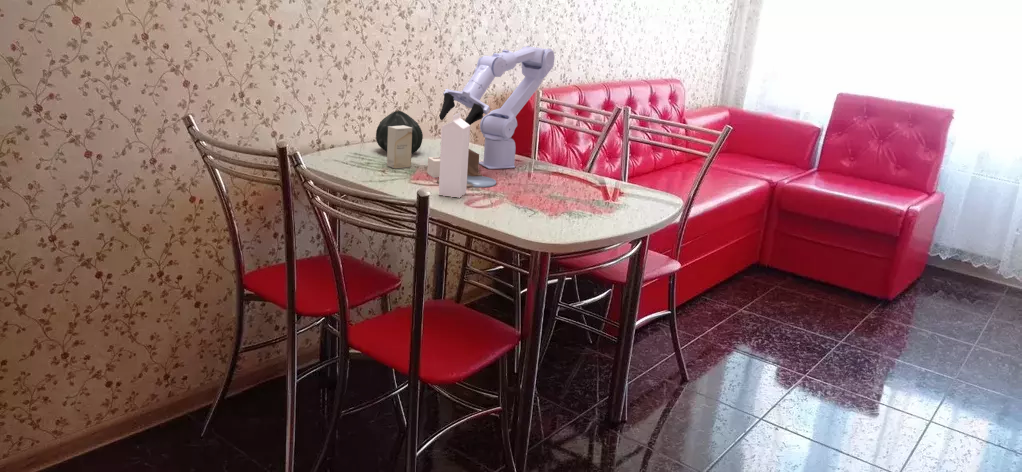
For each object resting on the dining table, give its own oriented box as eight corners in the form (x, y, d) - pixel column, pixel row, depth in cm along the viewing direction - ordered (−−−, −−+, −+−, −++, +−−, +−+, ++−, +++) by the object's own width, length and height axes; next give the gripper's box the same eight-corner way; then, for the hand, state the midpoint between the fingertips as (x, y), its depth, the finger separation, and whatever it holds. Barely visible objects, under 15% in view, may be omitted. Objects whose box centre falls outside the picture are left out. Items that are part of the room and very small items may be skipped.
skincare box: (394, 169, 223) (395, 129, 219) (386, 165, 225) (387, 126, 222) (411, 166, 227) (413, 127, 223) (403, 163, 230) (404, 124, 226)
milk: (438, 195, 199) (441, 114, 192) (445, 190, 205) (448, 110, 198) (460, 198, 198) (463, 116, 191) (466, 193, 204) (470, 113, 196)
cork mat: (460, 179, 216) (460, 177, 216) (475, 186, 211) (475, 184, 210) (436, 182, 212) (436, 180, 212) (452, 189, 206) (452, 187, 206)
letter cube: (442, 172, 223) (443, 156, 221) (449, 177, 219) (450, 160, 217) (427, 173, 221) (428, 156, 219) (433, 178, 217) (434, 160, 215)
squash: (411, 129, 253) (387, 98, 242) (437, 140, 243) (414, 108, 232) (383, 159, 249) (358, 129, 239) (409, 171, 239) (384, 140, 229)
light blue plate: (486, 176, 222) (486, 174, 222) (502, 186, 213) (502, 184, 213) (452, 178, 217) (452, 176, 217) (467, 188, 208) (467, 186, 208)
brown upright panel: (464, 167, 231) (465, 145, 229) (482, 177, 221) (483, 154, 218) (453, 167, 230) (455, 145, 228) (471, 178, 219) (472, 155, 217)
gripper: (452, 71, 216) (428, 105, 211) (495, 88, 212) (472, 123, 207) (456, 86, 223) (432, 119, 218) (498, 103, 219) (475, 137, 214)
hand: (452, 122), depth 213 cm, fingers open, 7 cm apart
